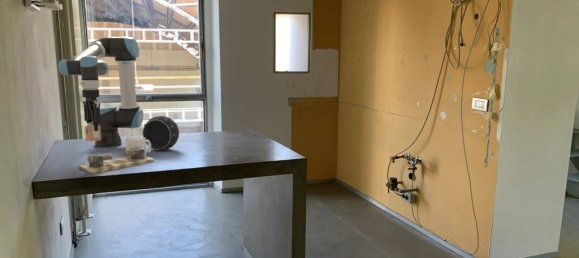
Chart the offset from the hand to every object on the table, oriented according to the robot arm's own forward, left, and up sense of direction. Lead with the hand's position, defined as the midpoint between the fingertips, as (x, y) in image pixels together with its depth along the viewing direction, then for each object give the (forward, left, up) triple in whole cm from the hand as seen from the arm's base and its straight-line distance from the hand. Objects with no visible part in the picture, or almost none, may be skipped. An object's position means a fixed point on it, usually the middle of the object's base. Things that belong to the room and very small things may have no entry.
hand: (93, 136), depth 213 cm
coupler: (0, 0, -2) cm, 2 cm away
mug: (-2, +25, -15) cm, 30 cm away
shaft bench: (+6, +8, -15) cm, 18 cm away
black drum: (-8, +43, -15) cm, 47 cm away
